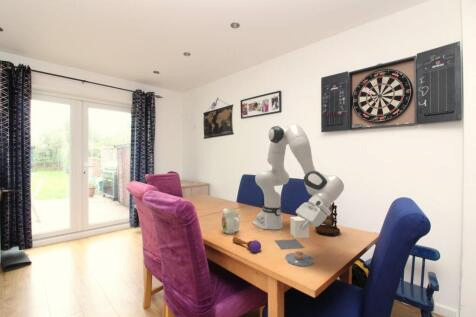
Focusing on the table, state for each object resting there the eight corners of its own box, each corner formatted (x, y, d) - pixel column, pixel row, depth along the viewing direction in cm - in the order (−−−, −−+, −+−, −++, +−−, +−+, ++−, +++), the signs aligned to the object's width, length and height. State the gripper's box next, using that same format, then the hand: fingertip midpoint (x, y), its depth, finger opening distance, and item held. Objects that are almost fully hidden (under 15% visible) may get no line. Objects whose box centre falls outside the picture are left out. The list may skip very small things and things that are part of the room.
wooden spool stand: (342, 231, 150) (342, 200, 149) (337, 238, 137) (337, 204, 137) (318, 227, 158) (318, 198, 158) (312, 233, 146) (312, 202, 145)
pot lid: (279, 258, 111) (279, 252, 111) (297, 251, 119) (297, 245, 119) (301, 269, 101) (301, 262, 101) (319, 261, 108) (319, 254, 108)
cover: (290, 233, 112) (290, 217, 112) (303, 232, 113) (303, 216, 113) (295, 238, 106) (295, 220, 106) (309, 237, 106) (309, 220, 106)
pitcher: (231, 238, 138) (230, 215, 138) (216, 230, 153) (216, 209, 153) (246, 235, 144) (246, 212, 144) (231, 227, 159) (231, 207, 159)
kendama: (239, 234, 135) (263, 241, 119) (238, 244, 134) (263, 253, 118) (231, 234, 131) (255, 241, 116) (230, 245, 130) (254, 254, 115)
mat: (274, 241, 133) (274, 240, 133) (295, 240, 135) (295, 239, 135) (281, 250, 120) (281, 249, 120) (305, 249, 122) (305, 248, 122)
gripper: (304, 196, 120) (286, 216, 119) (323, 204, 100) (302, 228, 99) (312, 204, 121) (294, 224, 120) (333, 214, 101) (312, 238, 99)
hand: (298, 226), depth 109 cm, fingers closed on cover, 7 cm apart
